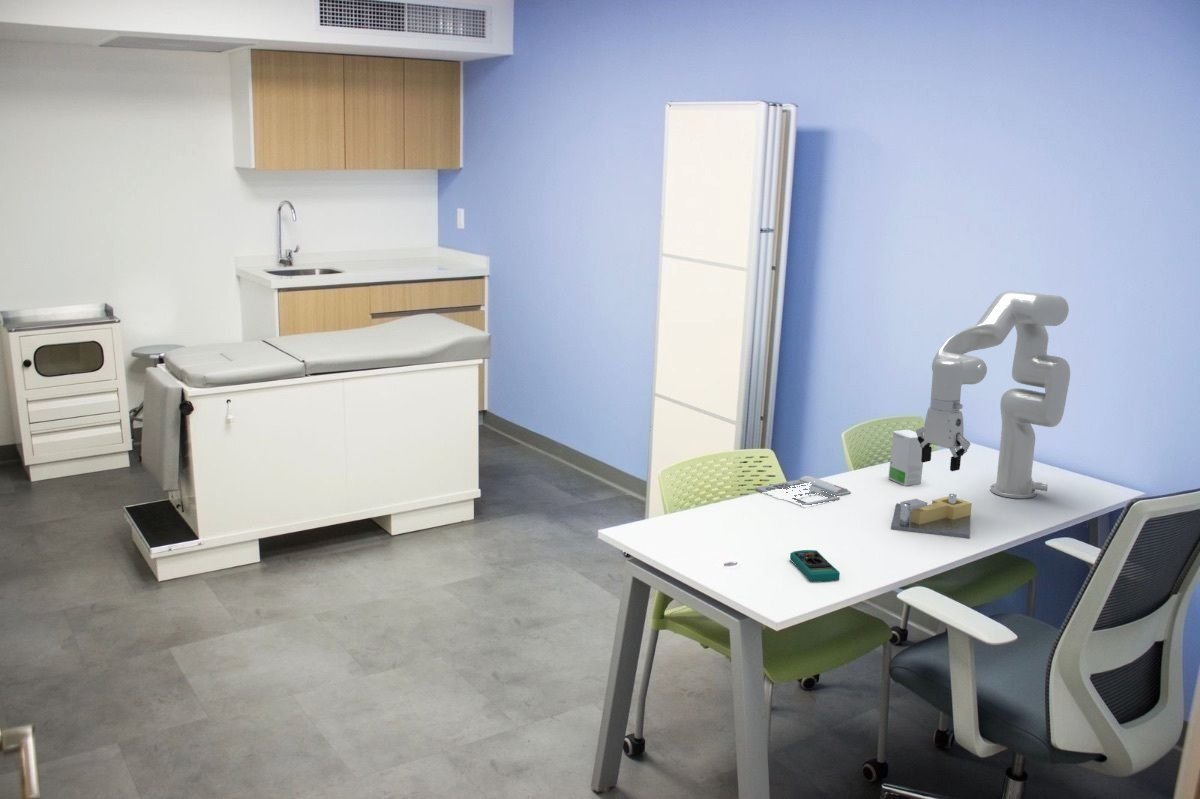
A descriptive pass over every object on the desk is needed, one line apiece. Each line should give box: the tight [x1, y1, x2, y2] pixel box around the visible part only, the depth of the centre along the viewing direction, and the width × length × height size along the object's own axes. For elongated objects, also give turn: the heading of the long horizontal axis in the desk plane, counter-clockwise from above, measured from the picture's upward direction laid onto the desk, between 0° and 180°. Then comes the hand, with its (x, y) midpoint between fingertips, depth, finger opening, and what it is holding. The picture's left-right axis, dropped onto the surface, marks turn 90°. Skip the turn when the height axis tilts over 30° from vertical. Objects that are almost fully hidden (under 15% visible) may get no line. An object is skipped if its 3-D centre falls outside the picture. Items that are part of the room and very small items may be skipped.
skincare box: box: [887, 429, 924, 487], centre depth 321 cm, size 8×7×16 cm
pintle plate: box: [890, 493, 971, 539], centre depth 286 cm, size 20×20×7 cm
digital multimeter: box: [789, 549, 840, 582], centre depth 253 cm, size 7×15×3 cm, turn 10°
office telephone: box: [754, 475, 852, 505], centre depth 311 cm, size 23×3×20 cm
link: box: [911, 495, 972, 525], centre depth 288 cm, size 18×7×4 cm, turn 123°
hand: (940, 465), depth 284 cm, fingers open, 9 cm apart
